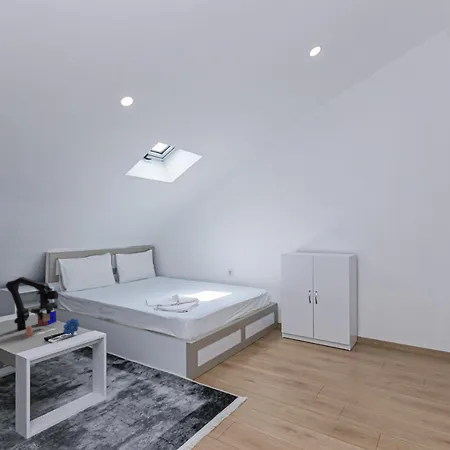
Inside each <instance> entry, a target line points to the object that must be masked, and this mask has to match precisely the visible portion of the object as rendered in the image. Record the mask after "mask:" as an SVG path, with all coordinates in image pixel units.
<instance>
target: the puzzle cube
mask: <svg viewBox="0 0 450 450" xmlns="http://www.w3.org/2000/svg"><path fill="white" fill-rule="evenodd" d="M42 312H43V313H42V314H45V313H46V309H45V310H42ZM36 314H37V313H36ZM56 322H57V311H56V309H55V310H52V311H51V313H50V320H49V321H45V322H42V321H40V317H39V316H38V314H37V325H38V326H49V325H52V324H54V323H56Z"/></svg>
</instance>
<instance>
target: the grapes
mask: <svg viewBox="0 0 450 450" xmlns="http://www.w3.org/2000/svg"><path fill="white" fill-rule="evenodd" d="M80 325H81V324H80V322H79V319H77V318H76V319H75V318H74V317H72V318H71V319H68V320H67V321H66V323H65V324H63V331H62V332H63V333H64V334H65V335H66V334H70V333H71V334H73V335H74V334H75V333H76V332H77V331H79V327H80ZM71 334H70V335H71Z"/></svg>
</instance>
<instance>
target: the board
mask: <svg viewBox="0 0 450 450" xmlns="http://www.w3.org/2000/svg"><path fill="white" fill-rule="evenodd" d="M55 330H56V327H53V328H49V329H47V330H44V331H39V332H37V333H34V334H33V336H32V337H35V336H39V335H43V334H46V333H48V332H50V331H55ZM32 337H26V338H32Z"/></svg>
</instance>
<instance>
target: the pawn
mask: <svg viewBox="0 0 450 450" xmlns="http://www.w3.org/2000/svg"><path fill="white" fill-rule="evenodd" d="M26 328H27V329H25V338H27V337H30V338H32V336H33V333H34V332H33V327H32V326H31V325H28V326H26ZM33 337H34V336H33Z"/></svg>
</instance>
